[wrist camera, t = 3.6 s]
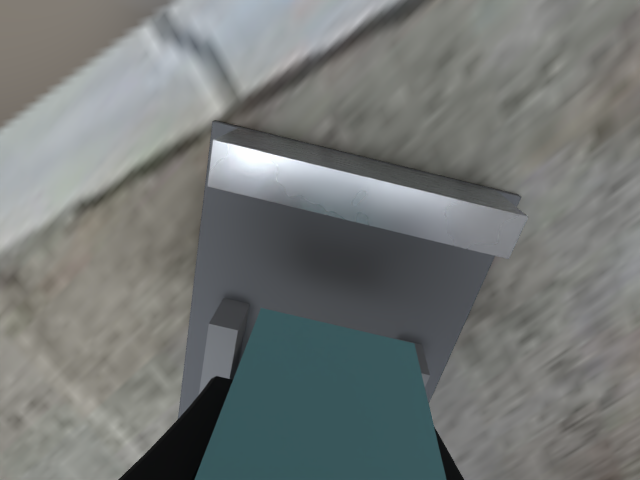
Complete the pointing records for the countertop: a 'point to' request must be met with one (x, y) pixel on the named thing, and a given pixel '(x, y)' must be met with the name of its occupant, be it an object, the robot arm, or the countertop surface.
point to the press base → (336, 249)
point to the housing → (323, 408)
